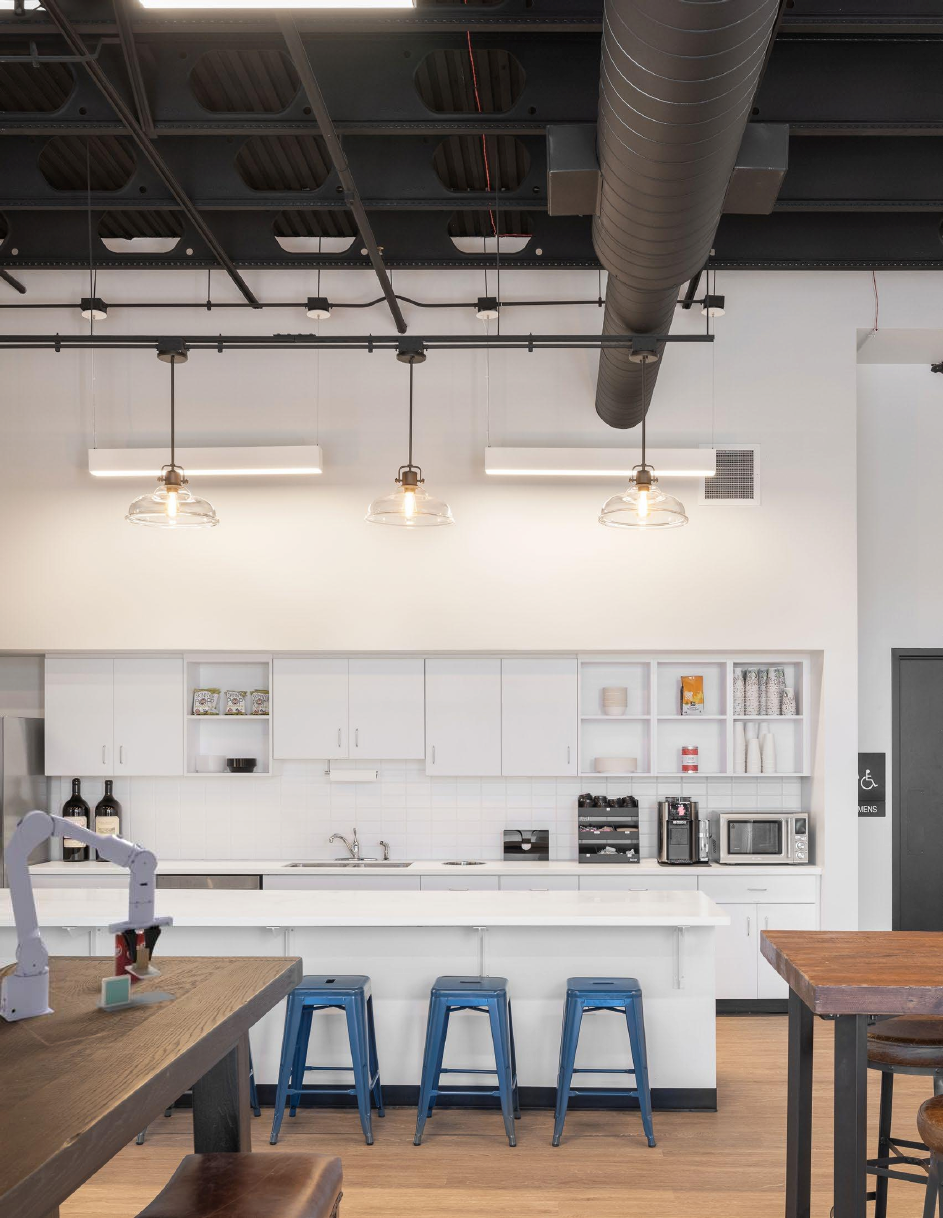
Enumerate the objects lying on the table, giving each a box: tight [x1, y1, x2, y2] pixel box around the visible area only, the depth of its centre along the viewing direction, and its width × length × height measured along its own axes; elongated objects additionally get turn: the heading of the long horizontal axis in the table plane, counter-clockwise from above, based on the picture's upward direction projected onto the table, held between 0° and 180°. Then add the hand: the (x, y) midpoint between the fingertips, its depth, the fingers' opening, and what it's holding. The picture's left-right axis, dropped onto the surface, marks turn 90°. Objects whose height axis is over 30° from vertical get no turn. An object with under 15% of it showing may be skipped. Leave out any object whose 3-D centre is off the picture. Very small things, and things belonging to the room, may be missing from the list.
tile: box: [101, 974, 132, 1008], centre depth 230 cm, size 6×2×6 cm, turn 128°
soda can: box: [114, 929, 146, 984], centre depth 253 cm, size 7×7×12 cm
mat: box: [92, 989, 178, 1012], centre depth 233 cm, size 16×10×1 cm, turn 128°
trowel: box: [125, 946, 163, 979], centre depth 235 cm, size 10×5×5 cm, turn 38°
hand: (140, 961), depth 237 cm, fingers closed on trowel, 3 cm apart
